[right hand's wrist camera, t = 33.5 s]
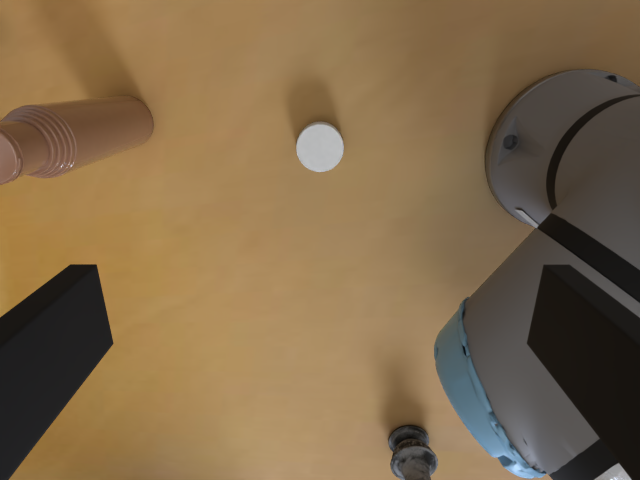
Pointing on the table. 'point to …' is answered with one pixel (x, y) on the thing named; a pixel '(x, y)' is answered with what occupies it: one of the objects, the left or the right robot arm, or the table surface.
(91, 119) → the bottle
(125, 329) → the table surface
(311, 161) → the cap
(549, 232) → the right robot arm
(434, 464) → the salt shaker
